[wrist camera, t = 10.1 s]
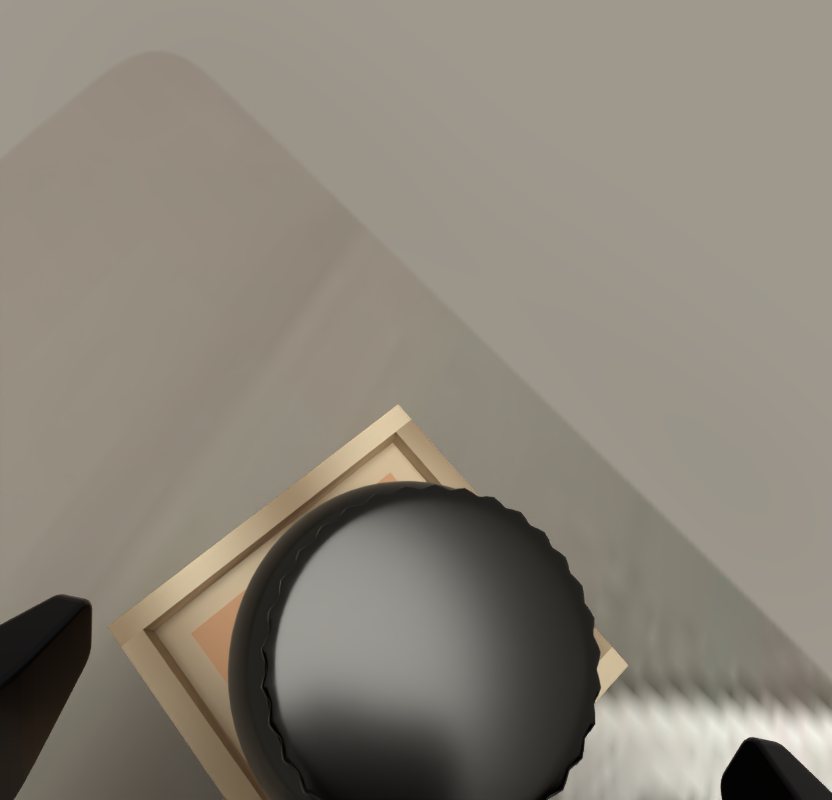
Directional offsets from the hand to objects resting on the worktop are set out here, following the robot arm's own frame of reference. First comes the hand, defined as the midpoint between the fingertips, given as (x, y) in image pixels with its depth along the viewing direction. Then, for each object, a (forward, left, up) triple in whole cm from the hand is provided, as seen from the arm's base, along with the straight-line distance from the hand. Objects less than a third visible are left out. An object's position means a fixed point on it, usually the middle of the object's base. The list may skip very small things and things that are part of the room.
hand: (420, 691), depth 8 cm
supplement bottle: (0, 0, -12) cm, 12 cm away
